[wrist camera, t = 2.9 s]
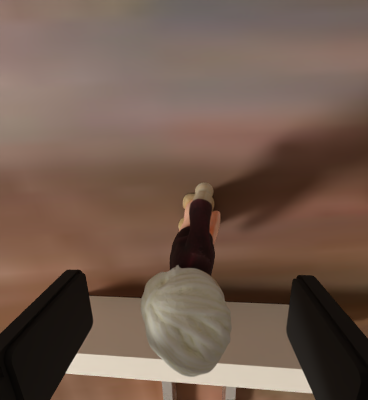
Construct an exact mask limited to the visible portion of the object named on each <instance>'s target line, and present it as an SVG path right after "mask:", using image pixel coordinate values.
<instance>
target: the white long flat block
mask: <svg viewBox="0 0 368 400" xmlns="http://www.w3.org/2000/svg"><path fill="white" fill-rule="evenodd" d="M89 298H90V304H91V309H92V315H93V325H92V328H91V330H90V332H89V333H88V335H87V337H86V339H85V340H84V342H83V344H82V345H81V347H80V349H79V351H78V352H77V354H76V356H75V358H74V359H73V361H72V363H71V364H70V366H69V368H68V370H67V371H66V373H68V374H80V375H92V376H105V377H117V378H129V379H142V380H154V381H167V382H179V383H191V384H204V385H216V386H228V387H241V388H253V389H265V390H278V391H290V392H303V393H312V390H311V388H310V386H309V384H308V381H307V379H306V377H305V375H304V373H303V370H302V368H301V366H300V364H299V361H298V359H297V357H296V355H295V352H294V350H293V348H292V346H291V344H290V341H289V339H288V336H287V332H286V326H287V318H288V311H289V305H287V304H264V303H242V302H226V305H227V306H228V308H229V310H230V312H231V315H230V316H231V326H232V330H231V332H230V339H231V340H230V343H229V344H228V346H227V348H226V350H225V352H224V353H223V355H222V356H221V358H220V360H219V361H218V363H217V365H216V366H215V367H214V368H213V370H212V371H210V372H209V373H206V374H202V375H198V376H195V377H188V376H184V375H181V374H180V373H178V372H176V371H175V370H173V369H172V368H171V367H170V366H168V365H167V364H166V363H165V361H164V360H163V359H161V358H160V357H159V356H158V355H157V354H156V353H155V352H154V351H153V350H152V348H151V347H150V345H149V343H148V340H147V337H146V329H145V323H144V321H143V318H142V314H141V309H140V305H141V299H142V298H128V297H105V296H89Z"/></svg>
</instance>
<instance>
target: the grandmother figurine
mask: <svg viewBox="0 0 368 400" xmlns="http://www.w3.org/2000/svg"><path fill="white" fill-rule="evenodd" d="M212 196H213V188H212V186H211V185H210V184H208V183H200V184H199V185H198V186H197V187H196V190H195V194H187V195H186V196H185V197H184V199H183V207H184V209H185V215H184V218H182V219H181V220H180V222H179V225H178V226H179V229H180V230H179V232H178V234H177V236H176V238H175V240H174V242H173V245H172V250H171V255H170V271H169V272H161V273H158V274H157V275H155V276H154V277H152V278H151V279H150V280H149V281H148V282H147V284H146V286H145V290H144V293H143V296H142V299H141V305H140V309H141V314H142V318H143V321H144V323H145V329H146V337H147V340H148V343H149V345H150V347H151V348H152V350H153V351H154V352H155V353H156V354H157V355H158V356H159V357H160V358H161V359H163V360H164V361H165V363H166V364H167V365H168V366H170V367H171V368H172V369H173V370H175V371H176V372H178V373H180V374H181V375H184V376H188V377H195V376H198V375H202V374H206V373H209V372H210V371H212V370H213V368H214V367H215V366H216V365H217V363H218V361H219V360H220V358H221V356H222V355H223V353H224V352H225V350H226V348H227V346H228V344H229V343H230V340H231V339H230V332H231V330H232V326H231V316H230V315H231V312H230V310H229V308H228V306H227V305H226V302H225V300H224V294H223V292H222V290H221V288H220V286H219V285H218V283H217V282H216V280H215V279H214V278H213V277H212V276H211V273H212V269H213V264H214V258H215V251H214V246H213V245H214V243H215V241H216V238H217V234H218V231H219V227H220V212H219V211H213V209H214V200H213V198H212ZM212 211H213V212H212Z"/></svg>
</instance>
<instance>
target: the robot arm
mask: <svg viewBox="0 0 368 400" xmlns="http://www.w3.org/2000/svg"><path fill="white" fill-rule="evenodd" d="M92 325H93V315H92V309H91V304H90V298H89V293H88V287H87V282H86V276H85V274H84V273H82V271H81V270H66V271H65V272H64V273H63V274H62V275H61V276H60V277H59V278H58V279H57V280H56V281H55V282H54V283H52V284H51V285H50V286H49V287H48V288H47V289H46V290H45V291H44V292H43V293H42V294H41V295H40V296H39V297H38V298H37V299H36V300H35V301H34V302H33V303H32V304H31V305H30V306H29V307H28V308H26V309H25V310H24V311H23V312H22V313H21V314H20V315H19V316H18V317H17V318H16V319H15V320H14V321H13V322H12V323H11V324H10V325H9V326H8V327H7V328H6V329H5V330H4V331H3V332H2V333H0V400H50V399H51V397H52V395H53V394H54V392H55V390H56V388H57V387H58V385H59V383H60V382H61V380H62V378H63V376H64V375H65V373H66V371H67V370H68V368H69V366H70V364H71V363H72V361H73V359H74V358H75V356H76V354H77V352H78V351H79V349H80V347H81V345H82V344H83V342H84V340H85V339H86V337H87V335H88V333H89V332H90V330H91V328H92ZM286 332H287V336H288V339H289V341H290V344H291V346H292V348H293V350H294V352H295V355H296V357H297V359H298V361H299V364H300V366H301V368H302V370H303V373H304V375H305V377H306V379H307V381H308V384H309V386H310V388H311V390H312V393H313V395H314V397H315V399H316V400H368V338H367V337H366V336H365V335H364V334H363V333H362V331H361V330H360V329H359V328H358V327H357V325H356V324H355V323H354V322H353V321H352V320H351V318H350V317H349V316H348V315H347V314H346V313H345V312H344V311H343V310H342V308H341V307H340V306H339V305H338V304H337V302H336V301H335V300H334V299H333V298H332V297H331V295H330V294H329V293H328V292H327V291H326V289H325V288H324V287H323V286H322V285H321V284H320V282H319V281H318V280H317V279H316V278H315V277H314V276H311V275H298V276H297V279H293V282H292V289H291V296H290V304H289V311H288V318H287V326H286Z"/></svg>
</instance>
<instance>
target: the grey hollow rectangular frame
mask: <svg viewBox="0 0 368 400" xmlns="http://www.w3.org/2000/svg"><path fill="white" fill-rule="evenodd" d="M162 388H163V399H164V400H177V391H176V382H167V381H162ZM235 395H236V387H228V386H223V389H222V400H235Z"/></svg>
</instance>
